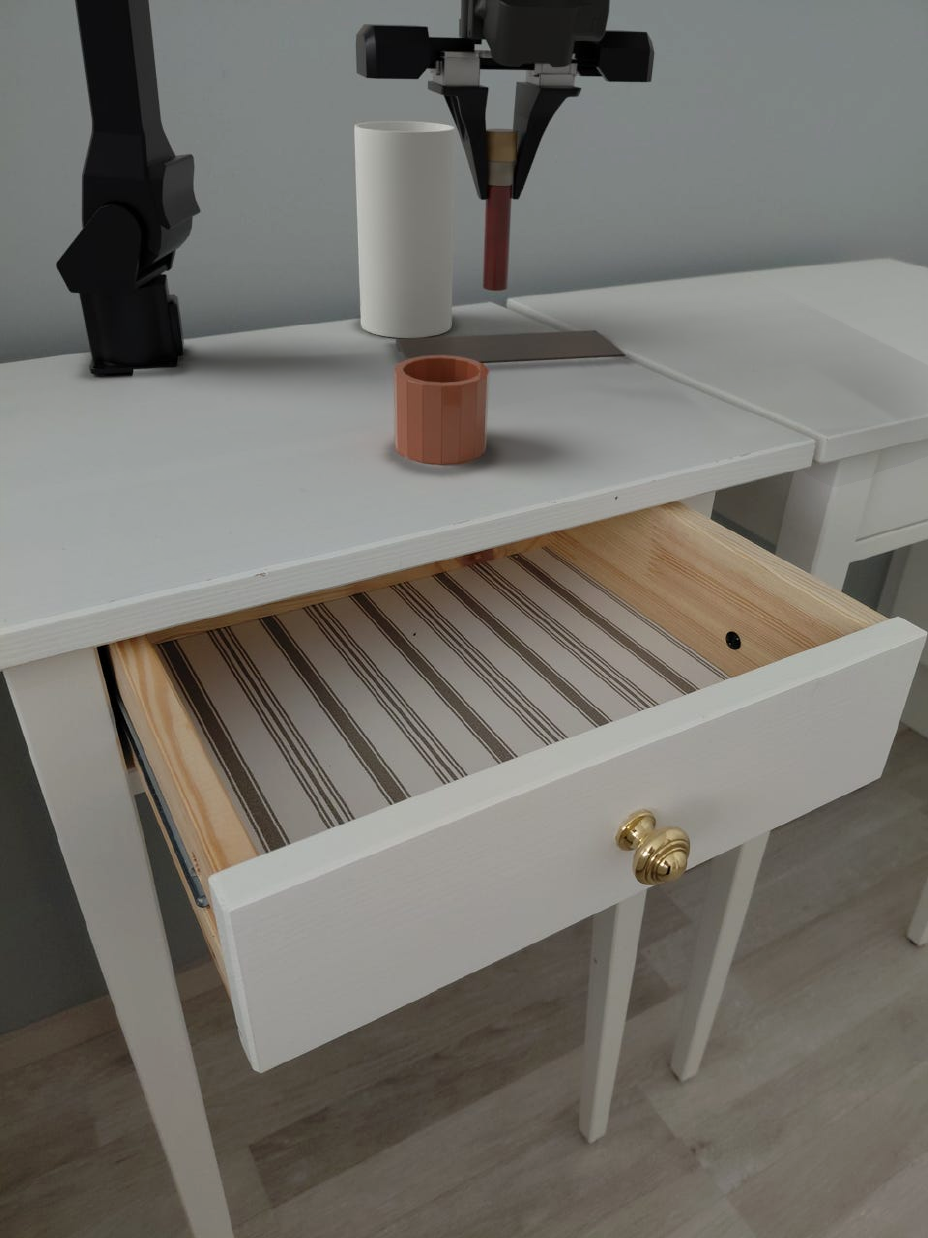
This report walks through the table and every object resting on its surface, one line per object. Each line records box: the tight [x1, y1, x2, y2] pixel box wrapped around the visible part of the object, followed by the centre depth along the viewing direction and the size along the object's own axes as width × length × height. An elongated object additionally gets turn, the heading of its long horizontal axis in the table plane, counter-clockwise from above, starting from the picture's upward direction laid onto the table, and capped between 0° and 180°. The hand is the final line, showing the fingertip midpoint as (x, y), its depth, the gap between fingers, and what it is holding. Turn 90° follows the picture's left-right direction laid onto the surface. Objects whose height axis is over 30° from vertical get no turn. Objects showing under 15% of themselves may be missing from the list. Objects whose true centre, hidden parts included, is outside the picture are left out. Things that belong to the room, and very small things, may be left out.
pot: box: [393, 355, 490, 466], centre depth 59 cm, size 6×6×6 cm
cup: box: [353, 120, 456, 339], centre depth 80 cm, size 8×8×16 cm
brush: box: [482, 128, 518, 292], centre depth 65 cm, size 2×2×10 cm
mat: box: [395, 329, 626, 364], centre depth 78 cm, size 18×7×1 cm, turn 103°
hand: (498, 198), depth 65 cm, fingers closed on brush, 2 cm apart
